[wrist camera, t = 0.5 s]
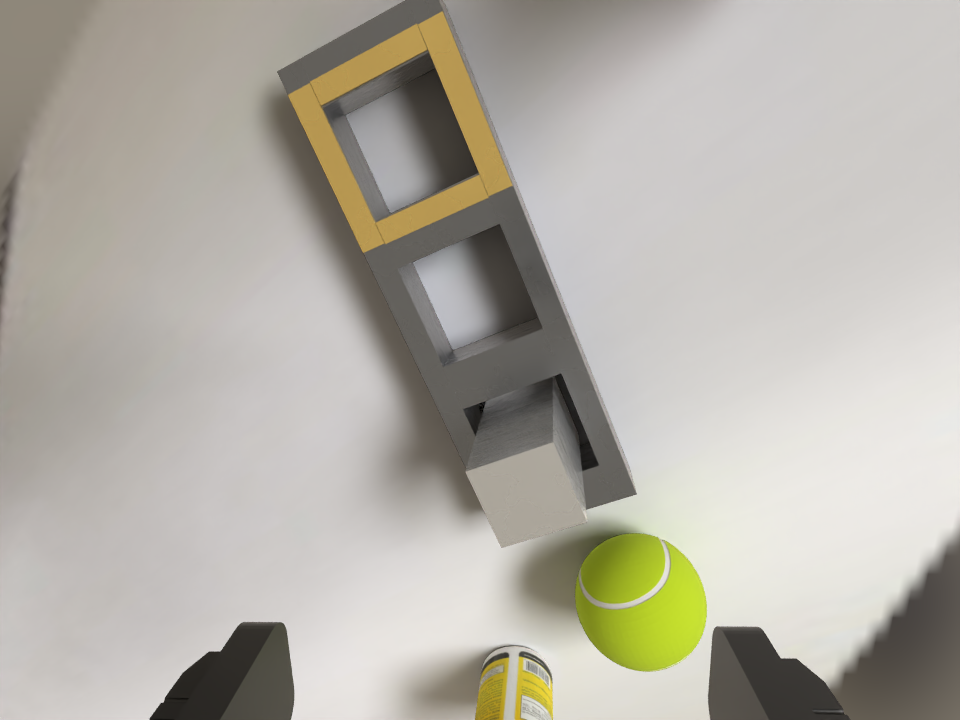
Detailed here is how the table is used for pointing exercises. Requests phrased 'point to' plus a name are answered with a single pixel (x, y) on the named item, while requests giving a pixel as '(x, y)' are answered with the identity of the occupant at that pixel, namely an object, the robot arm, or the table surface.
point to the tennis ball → (640, 602)
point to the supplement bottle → (515, 686)
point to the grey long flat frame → (448, 231)
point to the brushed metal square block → (528, 464)
